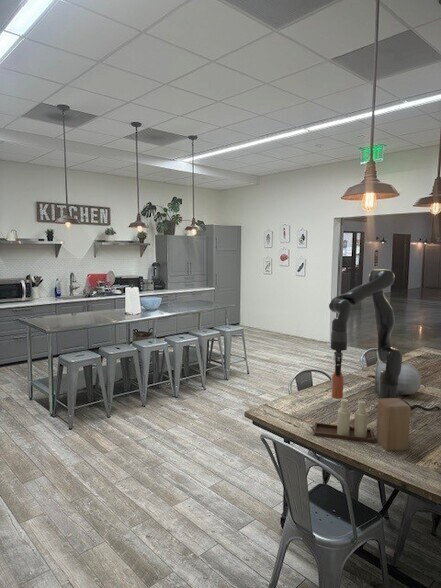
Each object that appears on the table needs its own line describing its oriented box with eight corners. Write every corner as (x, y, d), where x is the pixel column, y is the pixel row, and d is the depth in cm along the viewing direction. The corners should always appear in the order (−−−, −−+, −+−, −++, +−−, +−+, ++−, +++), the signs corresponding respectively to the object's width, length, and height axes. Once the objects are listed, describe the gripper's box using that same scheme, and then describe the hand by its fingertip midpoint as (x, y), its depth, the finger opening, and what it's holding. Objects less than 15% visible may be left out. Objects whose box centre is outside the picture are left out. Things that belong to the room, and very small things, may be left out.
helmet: (363, 394, 234) (420, 402, 220) (363, 364, 232) (421, 369, 218) (368, 384, 250) (421, 391, 236) (368, 356, 249) (422, 361, 234)
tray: (371, 433, 184) (371, 429, 183) (373, 444, 173) (374, 439, 173) (314, 426, 190) (315, 422, 190) (314, 436, 180) (314, 432, 180)
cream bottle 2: (366, 433, 182) (367, 400, 180) (367, 439, 177) (368, 404, 175) (353, 432, 183) (355, 398, 181) (354, 437, 178) (356, 403, 176)
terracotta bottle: (342, 395, 196) (343, 363, 194) (342, 399, 191) (344, 366, 189) (331, 394, 198) (332, 362, 196) (331, 398, 193) (332, 366, 191)
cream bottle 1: (349, 431, 184) (350, 398, 182) (349, 437, 178) (351, 402, 177) (336, 430, 185) (338, 397, 183) (337, 435, 180) (338, 401, 178)
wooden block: (375, 440, 176) (377, 397, 174) (396, 439, 177) (399, 397, 175) (386, 452, 166) (388, 406, 164) (408, 451, 167) (411, 406, 165)
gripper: (347, 343, 183) (346, 379, 185) (346, 336, 197) (345, 370, 199) (330, 342, 185) (329, 377, 187) (330, 335, 199) (329, 368, 201)
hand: (337, 373), depth 193 cm, fingers closed on terracotta bottle, 4 cm apart
